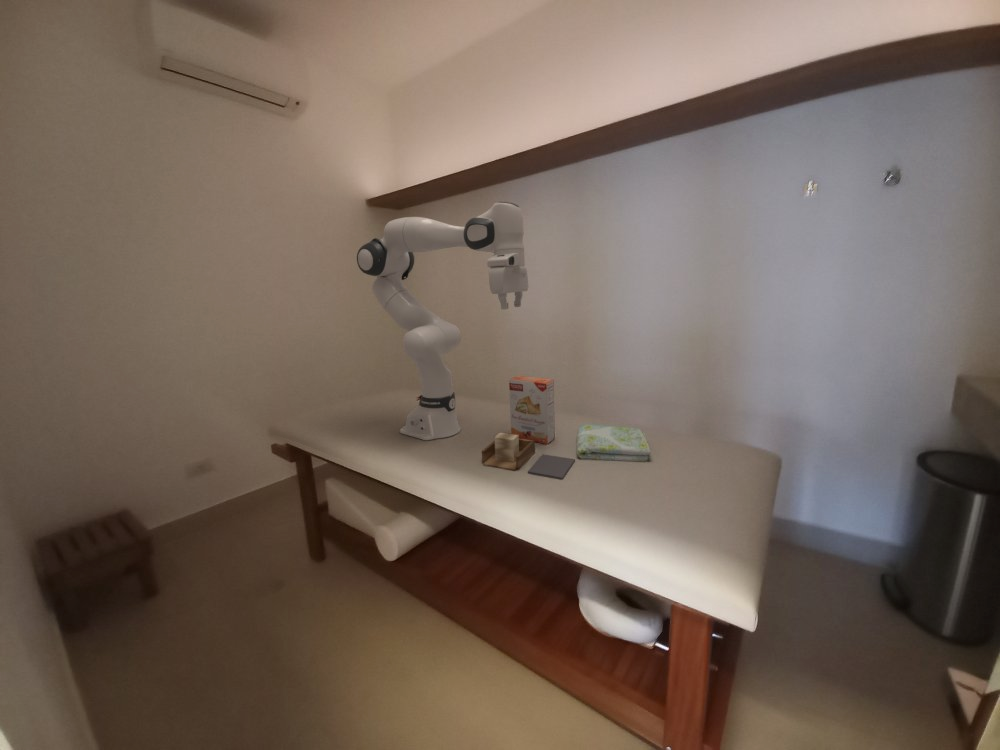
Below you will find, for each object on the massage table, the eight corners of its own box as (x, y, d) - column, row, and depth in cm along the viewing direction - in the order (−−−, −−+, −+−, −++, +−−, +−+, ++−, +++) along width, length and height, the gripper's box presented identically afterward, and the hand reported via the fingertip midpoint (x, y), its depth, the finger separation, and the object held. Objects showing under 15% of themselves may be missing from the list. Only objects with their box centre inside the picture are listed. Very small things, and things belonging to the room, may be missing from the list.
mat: (527, 473, 110) (527, 471, 110) (542, 456, 121) (542, 454, 120) (562, 479, 106) (562, 477, 106) (574, 461, 116) (574, 459, 116)
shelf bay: (480, 464, 117) (479, 452, 116) (500, 447, 128) (500, 435, 128) (517, 471, 112) (516, 458, 111) (535, 452, 123) (534, 440, 122)
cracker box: (510, 438, 136) (507, 378, 131) (519, 432, 141) (517, 374, 136) (547, 445, 128) (546, 382, 124) (555, 439, 133) (554, 378, 128)
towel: (652, 463, 113) (652, 447, 112) (576, 460, 118) (576, 444, 116) (643, 439, 130) (643, 424, 129) (577, 437, 135) (577, 422, 134)
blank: (495, 459, 119) (494, 437, 117) (501, 453, 122) (500, 432, 121) (513, 462, 116) (512, 439, 115) (519, 456, 120) (518, 435, 118)
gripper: (514, 262, 127) (515, 305, 131) (483, 260, 110) (486, 310, 113) (532, 260, 125) (533, 305, 128) (504, 258, 107) (506, 310, 110)
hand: (511, 308), depth 120 cm, fingers open, 8 cm apart
